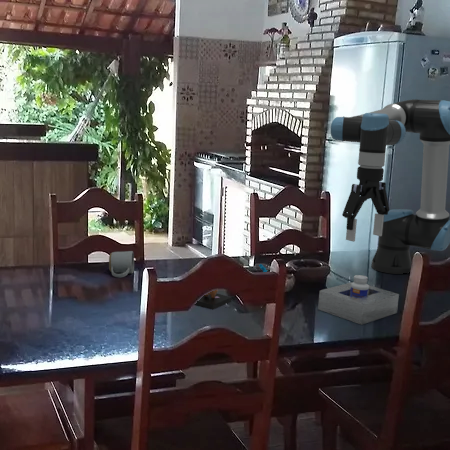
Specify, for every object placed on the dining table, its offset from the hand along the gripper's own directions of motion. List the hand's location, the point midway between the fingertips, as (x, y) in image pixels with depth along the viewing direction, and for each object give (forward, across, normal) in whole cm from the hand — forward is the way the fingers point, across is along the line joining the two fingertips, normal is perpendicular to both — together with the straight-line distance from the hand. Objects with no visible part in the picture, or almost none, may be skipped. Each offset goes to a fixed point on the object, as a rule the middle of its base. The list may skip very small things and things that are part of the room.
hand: (364, 238), depth 191 cm
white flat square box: (+23, +1, 0) cm, 23 cm away
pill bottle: (+22, +1, 0) cm, 22 cm away
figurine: (+23, +33, -32) cm, 51 cm away
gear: (+23, +4, -33) cm, 41 cm away
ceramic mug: (+23, +37, -72) cm, 84 cm away
